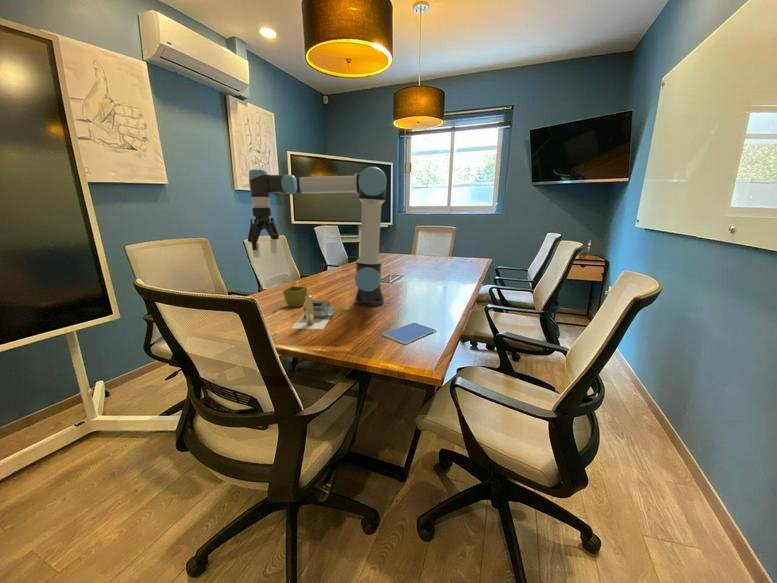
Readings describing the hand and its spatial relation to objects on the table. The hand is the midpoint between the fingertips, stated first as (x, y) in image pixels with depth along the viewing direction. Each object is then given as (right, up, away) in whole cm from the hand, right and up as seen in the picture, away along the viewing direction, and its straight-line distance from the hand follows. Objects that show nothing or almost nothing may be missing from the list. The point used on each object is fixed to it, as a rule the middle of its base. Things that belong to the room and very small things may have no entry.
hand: (266, 255), depth 147 cm
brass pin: (+24, -30, -14) cm, 41 cm away
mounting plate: (+24, -30, -8) cm, 39 cm away
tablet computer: (+65, -34, -19) cm, 75 cm away
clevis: (+26, -27, -3) cm, 37 cm away
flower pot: (+10, -24, +15) cm, 30 cm away
